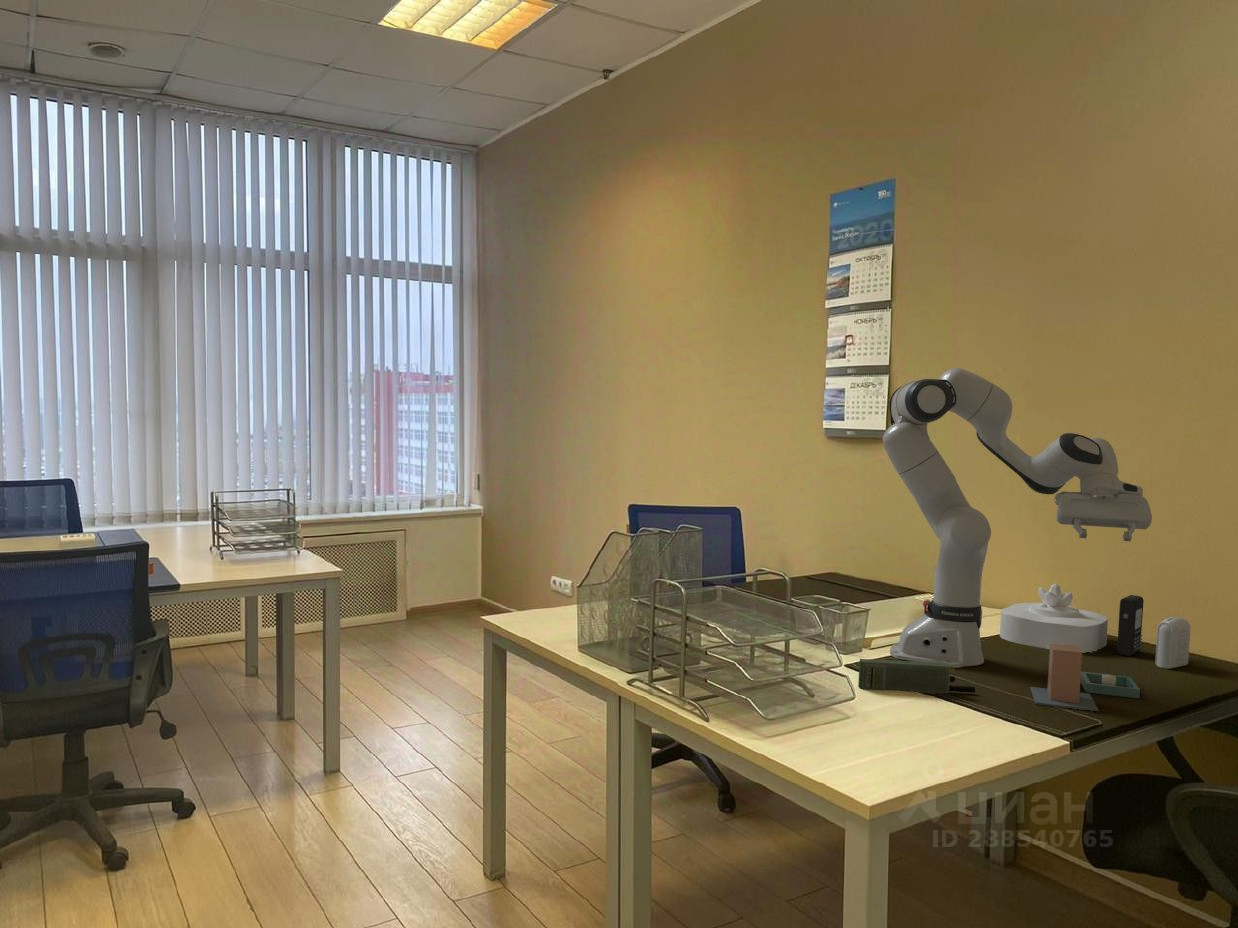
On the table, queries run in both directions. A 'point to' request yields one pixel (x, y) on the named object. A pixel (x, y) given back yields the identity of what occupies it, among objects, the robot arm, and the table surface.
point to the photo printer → (1173, 643)
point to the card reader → (1130, 625)
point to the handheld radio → (908, 676)
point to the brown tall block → (1064, 673)
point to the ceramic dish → (1109, 685)
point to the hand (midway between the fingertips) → (1105, 538)
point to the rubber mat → (1043, 699)
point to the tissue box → (1053, 623)
